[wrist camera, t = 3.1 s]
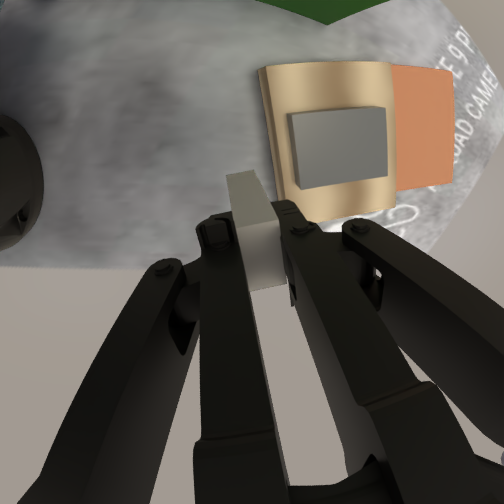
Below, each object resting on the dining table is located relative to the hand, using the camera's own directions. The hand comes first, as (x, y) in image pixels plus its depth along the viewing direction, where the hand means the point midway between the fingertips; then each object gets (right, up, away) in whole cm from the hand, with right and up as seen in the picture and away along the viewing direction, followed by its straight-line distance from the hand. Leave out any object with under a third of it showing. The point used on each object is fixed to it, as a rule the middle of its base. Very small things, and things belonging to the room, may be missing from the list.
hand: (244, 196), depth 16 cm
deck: (+7, +8, +10) cm, 15 cm away
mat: (+19, +10, +11) cm, 24 cm away
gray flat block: (+7, +6, +7) cm, 12 cm away
